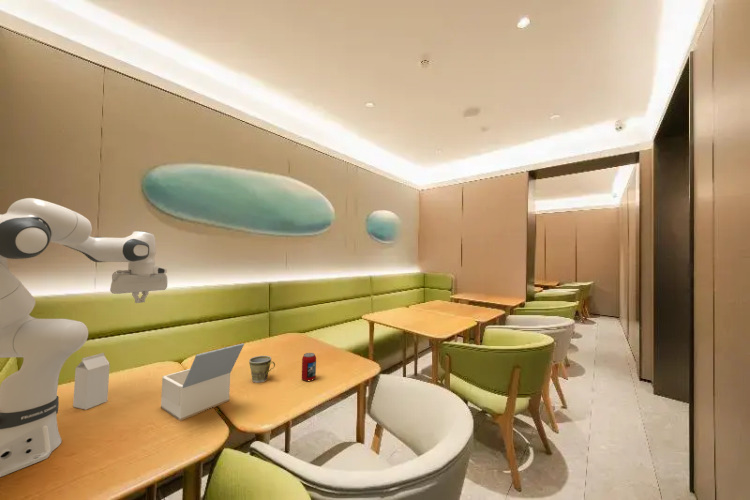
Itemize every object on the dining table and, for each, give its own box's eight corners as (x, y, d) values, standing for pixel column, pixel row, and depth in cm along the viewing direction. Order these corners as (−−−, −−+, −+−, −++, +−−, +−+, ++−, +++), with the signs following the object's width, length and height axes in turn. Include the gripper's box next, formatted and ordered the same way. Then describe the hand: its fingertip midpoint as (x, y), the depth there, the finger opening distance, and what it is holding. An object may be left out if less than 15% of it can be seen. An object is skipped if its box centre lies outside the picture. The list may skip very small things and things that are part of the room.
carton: (159, 408, 110) (161, 376, 110) (209, 390, 126) (210, 362, 126) (178, 421, 101) (180, 387, 102) (230, 400, 117) (231, 370, 118)
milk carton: (107, 401, 114) (110, 353, 115) (85, 410, 107) (88, 359, 108) (95, 398, 116) (98, 351, 117) (72, 407, 109) (76, 357, 110)
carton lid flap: (196, 354, 98) (196, 356, 98) (243, 343, 113) (244, 344, 113) (182, 386, 102) (183, 387, 102) (229, 371, 117) (230, 372, 117)
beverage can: (312, 382, 136) (312, 357, 136) (299, 381, 137) (299, 356, 138) (317, 377, 142) (318, 352, 143) (305, 375, 144) (305, 351, 144)
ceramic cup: (243, 382, 134) (244, 361, 134) (257, 374, 144) (258, 354, 144) (268, 386, 131) (268, 364, 131) (280, 377, 141) (280, 357, 141)
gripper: (118, 270, 110) (116, 306, 109) (170, 269, 129) (169, 300, 129) (107, 270, 112) (105, 305, 111) (160, 269, 131) (159, 299, 131)
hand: (139, 302), depth 120 cm, fingers closed
